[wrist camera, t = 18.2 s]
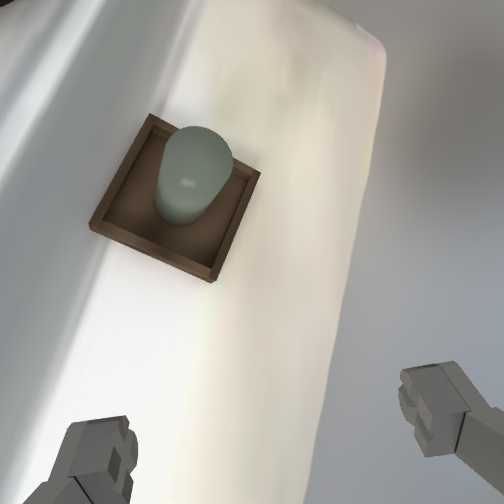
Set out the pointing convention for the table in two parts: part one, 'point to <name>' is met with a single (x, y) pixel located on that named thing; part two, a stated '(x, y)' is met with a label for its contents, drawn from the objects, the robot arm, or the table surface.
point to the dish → (5, 2)
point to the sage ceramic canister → (191, 175)
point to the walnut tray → (158, 231)
